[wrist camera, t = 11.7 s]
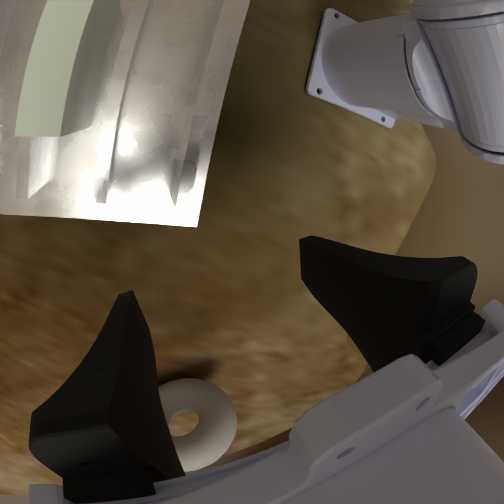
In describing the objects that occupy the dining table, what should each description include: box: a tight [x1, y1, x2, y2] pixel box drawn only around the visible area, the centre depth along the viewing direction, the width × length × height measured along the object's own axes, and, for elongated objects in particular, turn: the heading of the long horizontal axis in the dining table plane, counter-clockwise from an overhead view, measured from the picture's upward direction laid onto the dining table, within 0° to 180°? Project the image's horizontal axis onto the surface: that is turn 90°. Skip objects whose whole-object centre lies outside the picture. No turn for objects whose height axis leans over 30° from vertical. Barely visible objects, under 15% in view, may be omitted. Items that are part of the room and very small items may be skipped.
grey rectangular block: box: [15, 0, 121, 137], centre depth 10 cm, size 2×8×8 cm, turn 166°
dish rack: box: [0, 0, 250, 227], centre depth 13 cm, size 18×20×4 cm
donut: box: [158, 378, 237, 472], centre depth 24 cm, size 10×4×10 cm, turn 102°
